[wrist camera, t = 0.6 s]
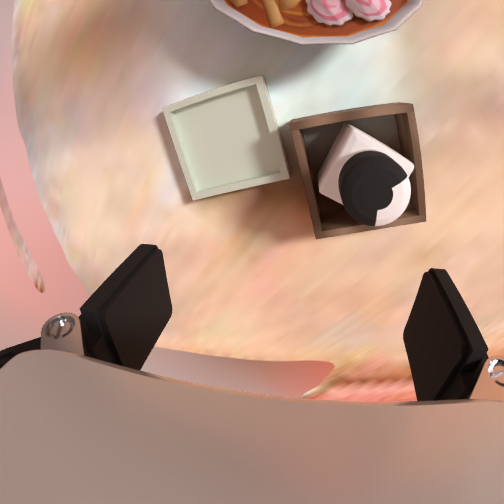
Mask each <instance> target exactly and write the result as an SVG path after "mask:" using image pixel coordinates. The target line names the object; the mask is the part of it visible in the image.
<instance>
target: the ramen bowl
mask: <svg viewBox="0 0 504 504" xmlns="http://www.w3.org/2000/svg"><path fill="white" fill-rule="evenodd" d="M209 1H210V3H211V4H212V6H213V7H214V9H216V10H218V11H219V12H221V13H223V14H224V15H226V16H228V17H230V18H231V19H233V20H235V21H236V22H238V23H239V24H241V25H243V26H244V27H246V28H247V29H249V30H250V31H252V32H255V33H259V34H263V35H267V36H271V37H275V38H279V39H282V40H286V41H290V42H293V43H296V44H300V45H316V44H355V43H358V42H360V41H363V40H366V39H369V38H372V37H375V36H379V35H382V34H385V33H388V32H392V31H395V30H396V29H397V28H398V27H399V26H400V25H401V24H402V23H403V22H404V21H406V20H407V19H408V18H409V17H410V16H411V15H412V14H413V13H414V12H415V11H416V10H417V9H418V8H419V7H420V6H421V5H422V3H423V0H209Z"/></svg>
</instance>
